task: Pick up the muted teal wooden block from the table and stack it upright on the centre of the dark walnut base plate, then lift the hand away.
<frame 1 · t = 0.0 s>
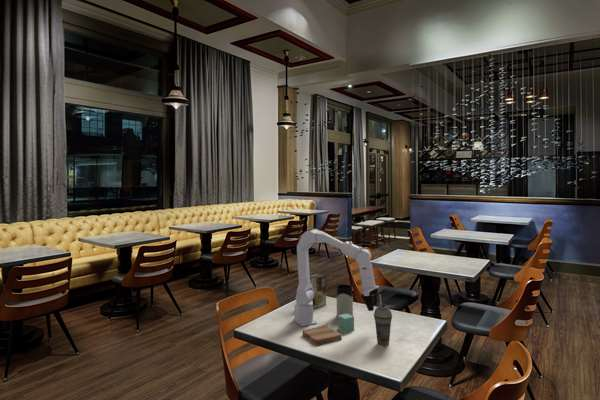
hand: (372, 307, 158), 11 cm above the table, tool pointing down, fingers open, 7 cm apart
walnut base: (321, 337, 154), on the table
beverage cup: (383, 344, 146), on the table
coffee box: (316, 305, 195), on the table
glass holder: (345, 315, 180), on the table
teal block: (346, 329, 162), on the table
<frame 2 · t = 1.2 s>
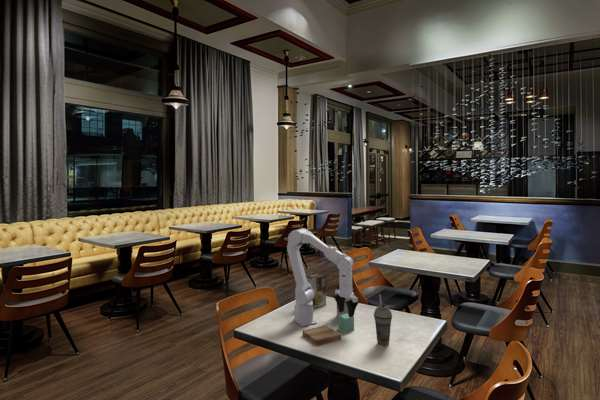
hand: (346, 314, 162), 7 cm above the table, tool pointing down, fingers open, 7 cm apart
nothing on the table moved.
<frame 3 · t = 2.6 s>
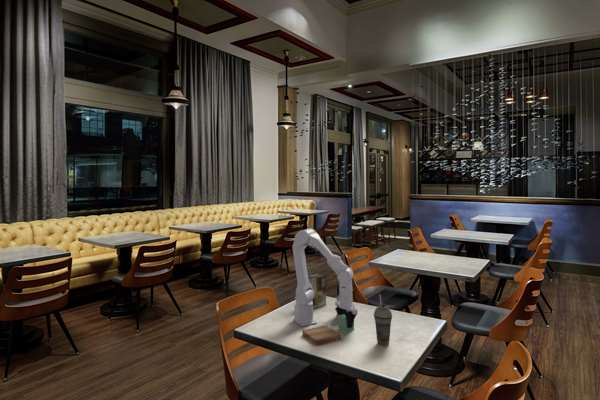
hand: (346, 325, 162), 2 cm above the table, tool pointing down, fingers closed on teal block, 5 cm apart
teal block: (346, 329, 162), on the table, touching gripper
everything else where it was.
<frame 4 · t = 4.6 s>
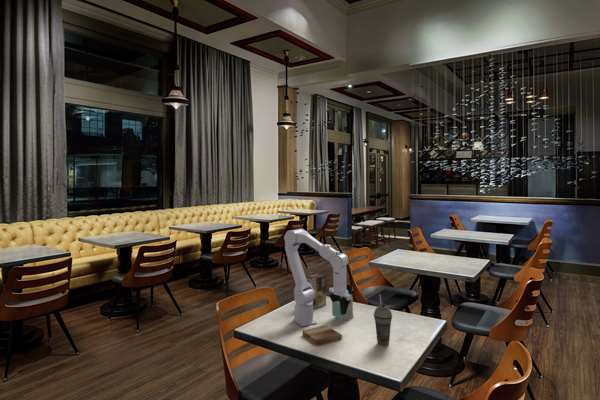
hand: (340, 312, 160), 8 cm above the table, tool pointing down, fingers closed on teal block, 5 cm apart
teal block: (340, 315, 160), point 7 cm above the table, touching gripper
everything else where it was.
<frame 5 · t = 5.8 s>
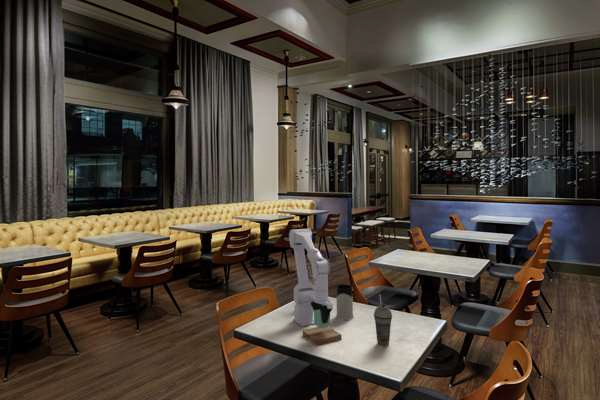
hand: (321, 320, 153), 7 cm above the table, tool pointing down, fingers closed on teal block, 5 cm apart
teal block: (322, 324, 154), point 5 cm above the table, touching gripper
everything else where it was.
when the fingers open (4 cm above the table, at t = 6.8 s): teal block stays where it is, resting on walnut base.
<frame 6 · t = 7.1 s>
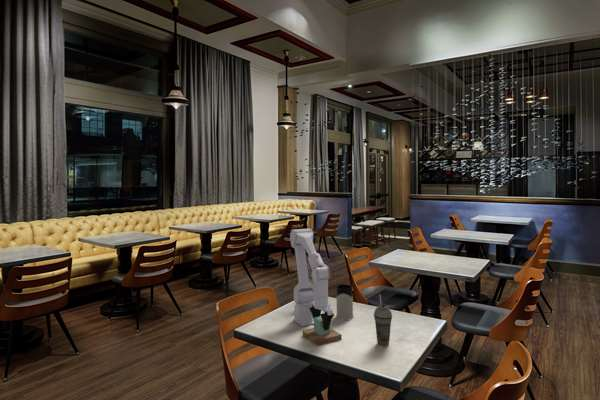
hand: (321, 326, 154), 4 cm above the table, tool pointing down, fingers open, 7 cm apart
teal block: (322, 332, 154), point 2 cm above the table, touching walnut base
everything else where it was.
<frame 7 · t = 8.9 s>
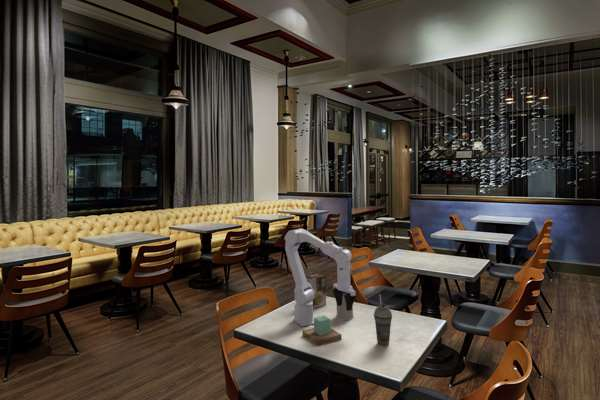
hand: (344, 307, 160), 10 cm above the table, tool pointing down, fingers open, 7 cm apart
nothing on the table moved.
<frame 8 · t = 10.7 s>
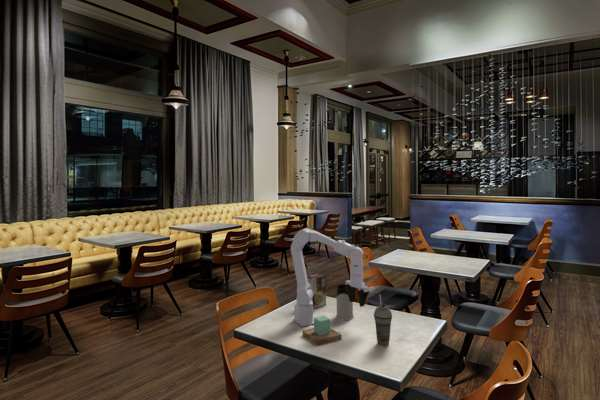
hand: (356, 303, 164), 10 cm above the table, tool pointing down, fingers open, 7 cm apart
nothing on the table moved.
at the end: teal block inside the target area on the walnut base (0.3 cm from its centre), point 2.0 cm above the walnut base's base; teal block tilted 0°; the gripper is holding nothing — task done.
